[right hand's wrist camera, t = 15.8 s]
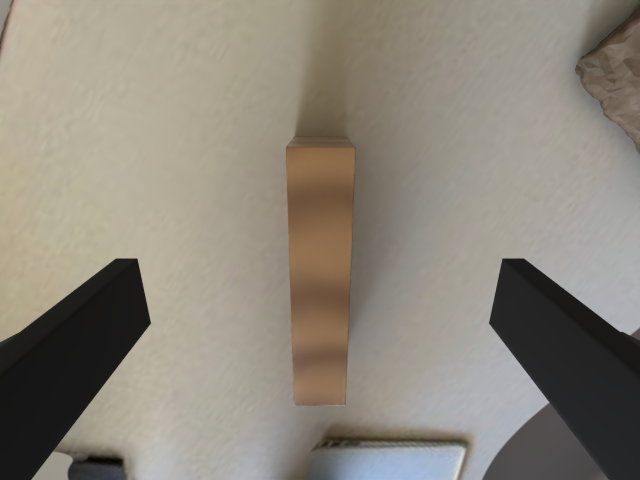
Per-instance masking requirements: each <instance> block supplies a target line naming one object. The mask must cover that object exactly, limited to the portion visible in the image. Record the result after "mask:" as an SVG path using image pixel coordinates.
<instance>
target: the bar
mask: <svg viewBox="0 0 640 480" xmlns="http://www.w3.org/2000/svg"><path fill="white" fill-rule="evenodd" d="M355 153H356V148H355V146H354V145H353V144H352V143H351V141H350V140H349V139H348V138H347V137H294V138H293V139H292V140H291V142H290V143H289V144H288V146H287V147H286V164H287V196H288V228H289V260H290V292H291V325H292V357H293V389H294V405H295V406H345V405H346V381H347V355H348V330H349V305H350V279H351V254H352V229H353V203H354V178H355Z"/></svg>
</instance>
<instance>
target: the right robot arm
mask: <svg viewBox="0 0 640 480" xmlns="http://www.w3.org/2000/svg"><path fill="white" fill-rule="evenodd" d="M150 324H151V321H150V317H149V312H148V307H147V302H146V297H145V293H144V288H143V283H142V278H141V273H140V269H139V264H138V259H115V260H114V261H112V262H111V263H110V264H108V265H107V266H106V267H104V268H103V269H102V270H100V271H99V272H98V273H97V274H95V275H94V276H93V277H91V278H90V279H89V280H87V281H86V282H85V283H83V284H82V285H81V286H80V287H78V288H77V289H76V290H74V291H73V292H72V293H70V294H69V295H68V296H66V297H65V298H64V299H63V300H61V301H60V302H59V303H57V304H56V305H55V306H53V307H52V308H51V309H49V310H48V311H47V312H46V313H44V314H43V315H42V316H40V317H39V318H38V319H36V320H35V321H34V322H32V323H31V324H30V325H29V326H27V327H26V328H25V329H23V330H22V331H21V332H19V333H17V334H15V335H13V336H11V337H9V338H8V339H6V340H4V341H2V342H0V480H31V479H32V478H33V477H34V475H35V474H36V473H37V471H38V470H39V469H40V467H41V466H42V465H43V463H44V462H45V461H46V460H47V458H48V457H49V456H50V454H51V453H52V452H53V450H54V449H55V448H56V447H57V445H58V444H59V443H60V441H61V440H62V439H63V437H64V436H65V435H66V434H67V432H68V431H69V430H70V428H71V427H72V426H73V424H74V423H75V422H76V420H77V419H78V418H79V417H80V415H81V414H82V413H83V411H84V410H85V409H86V407H87V406H88V405H89V403H90V402H91V401H92V400H93V398H94V397H95V396H96V394H97V393H98V392H99V390H100V389H101V388H102V387H103V385H104V384H105V383H106V381H107V380H108V379H109V377H110V376H111V375H112V373H113V372H114V371H115V370H116V368H117V367H118V366H119V364H120V363H121V362H122V360H123V359H124V358H125V356H126V355H127V354H128V353H129V351H130V350H131V349H132V347H133V346H134V345H135V343H136V342H137V341H138V340H139V338H140V337H141V336H142V334H143V333H144V332H145V330H146V329H147V328H148V326H149V325H150ZM489 324H490V325H491V326H492V328H493V329H494V330H495V332H496V333H497V334H498V336H499V337H500V338H501V340H502V341H503V342H504V343H505V345H506V346H507V347H508V349H509V350H510V351H511V353H512V354H513V355H514V356H515V358H516V359H517V360H518V362H519V363H520V364H521V366H522V367H523V368H524V370H525V371H526V372H527V373H528V375H529V376H530V377H531V379H532V380H533V381H534V383H535V384H536V385H537V387H538V388H539V389H540V390H541V392H542V393H543V394H544V396H545V397H546V398H547V400H548V401H549V402H550V403H551V405H552V406H553V407H554V409H555V410H556V411H557V413H558V414H559V415H560V417H561V418H562V419H563V420H564V422H565V423H566V424H567V426H568V427H569V428H570V430H571V431H572V432H573V434H574V435H575V436H576V437H577V439H578V440H579V441H580V443H581V444H582V445H583V447H584V448H585V449H586V450H587V452H588V453H589V454H590V456H591V457H592V458H593V460H594V461H595V462H596V463H597V465H598V466H599V467H600V469H601V470H602V471H603V473H604V474H605V475H606V477H607V478H608V479H609V480H640V341H639V340H637V339H635V338H633V337H632V336H630V335H628V334H626V333H624V332H619V331H618V330H617V329H615V328H614V327H613V326H611V325H610V324H609V323H608V322H606V321H605V320H604V319H602V318H601V317H600V316H598V315H597V314H596V313H594V312H593V311H592V310H591V309H589V308H588V307H587V306H585V305H584V304H583V303H581V302H580V301H579V300H577V299H576V298H575V297H574V296H572V295H571V294H570V293H568V292H567V291H566V290H564V289H563V288H562V287H560V286H559V285H558V284H557V283H555V282H554V281H553V280H551V279H550V278H549V277H547V276H546V275H545V274H543V273H542V272H541V271H540V270H538V269H537V268H536V267H534V266H533V265H532V264H530V263H529V262H528V261H526V260H525V259H502V264H501V269H500V273H499V278H498V283H497V288H496V293H495V297H494V302H493V307H492V312H491V316H490V321H489Z"/></svg>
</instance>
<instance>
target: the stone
mask: <svg viewBox="0 0 640 480" xmlns="http://www.w3.org/2000/svg"><path fill="white" fill-rule="evenodd" d="M575 70H576V73H577V74H578V75H579V76H580V77H581V83H582V84H583V86H584V88H585V90H586V91H587V92H588V93H590V94H591V95H592V97H595V98H597V99H599V100H600V104H601V107H602V108H603V111H604V115H605V116H606V117H607V118H608V119H610V120H611V121H614V122H616V123H617V124H618V125H619V126H620V127H621V128H623V129H624V130H625V132H626V134H627V135H628V136H629V137H631V139H632V140H633V141H634V143H635V147H636V149H637V151H638V153H639V154H640V5H639V7H638V8H637V9H636V11H635V12H634V13H633V15H632V16H631V17H630V18H629V19H627V20H626V21H625V22H624V23H622V24H621V25H620V26H619V27H617V28H616V29H615V30H614V31H613V32H612V33H611V34H610V35H609V36H608V37H606V38H605V39H604V40H603V41H602V42H600V44H599V45H598V46H597V47H596V48H595V49H593V50H592V51H590V52H589V53H588V54H587V55H585V56H583V57H582V58H581V59H580V60H579V61H578V63H577V66H576V69H575Z"/></svg>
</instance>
